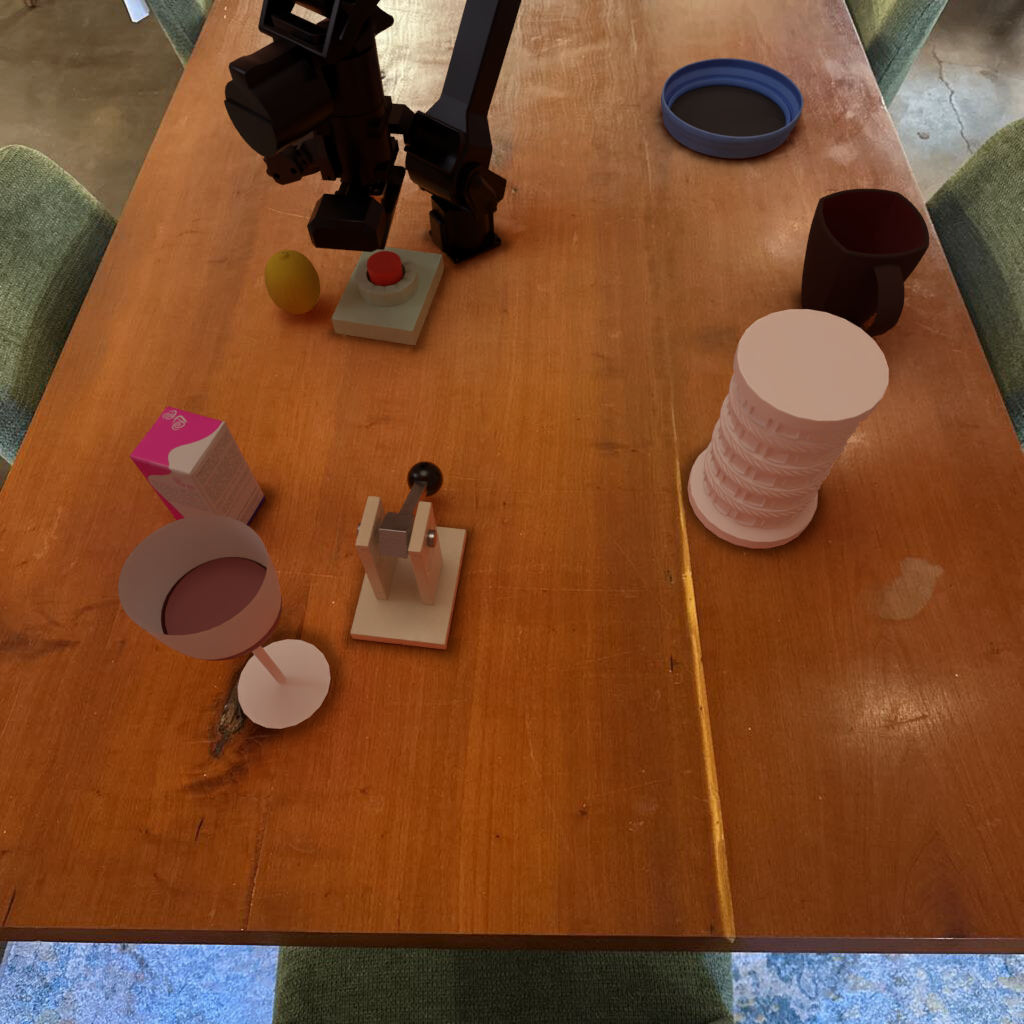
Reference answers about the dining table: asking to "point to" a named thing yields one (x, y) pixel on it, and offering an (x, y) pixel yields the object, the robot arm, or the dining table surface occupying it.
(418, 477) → the lever
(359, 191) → the robot arm
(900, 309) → the cup
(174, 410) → the supplement box
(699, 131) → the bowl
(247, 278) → the dining table surface
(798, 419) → the decorative container
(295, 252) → the lemon
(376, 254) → the button
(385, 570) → the bracket
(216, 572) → the wineglass
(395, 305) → the button block
